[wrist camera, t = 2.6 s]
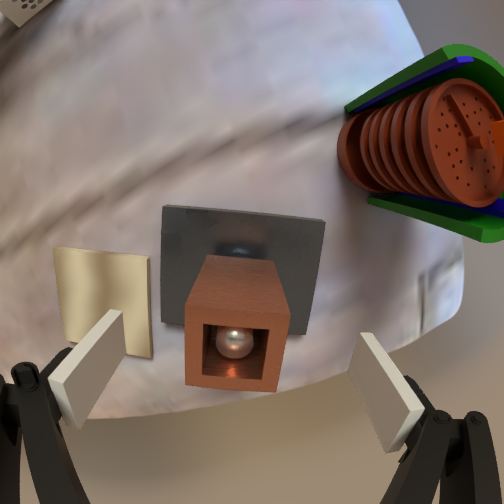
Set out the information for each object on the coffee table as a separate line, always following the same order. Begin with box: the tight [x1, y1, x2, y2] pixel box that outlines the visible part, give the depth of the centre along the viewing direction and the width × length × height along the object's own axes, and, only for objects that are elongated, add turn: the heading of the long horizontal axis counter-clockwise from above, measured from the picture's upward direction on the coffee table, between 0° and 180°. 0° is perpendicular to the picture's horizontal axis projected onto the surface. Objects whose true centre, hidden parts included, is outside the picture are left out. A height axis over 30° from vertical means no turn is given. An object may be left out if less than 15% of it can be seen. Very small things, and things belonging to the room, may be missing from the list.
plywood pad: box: [53, 247, 153, 358], centre depth 27 cm, size 11×11×1 cm
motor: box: [337, 44, 504, 243], centre depth 15 cm, size 10×9×20 cm
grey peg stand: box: [160, 205, 326, 359], centre depth 21 cm, size 14×11×12 cm
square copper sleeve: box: [185, 255, 291, 392], centre depth 18 cm, size 5×5×9 cm
